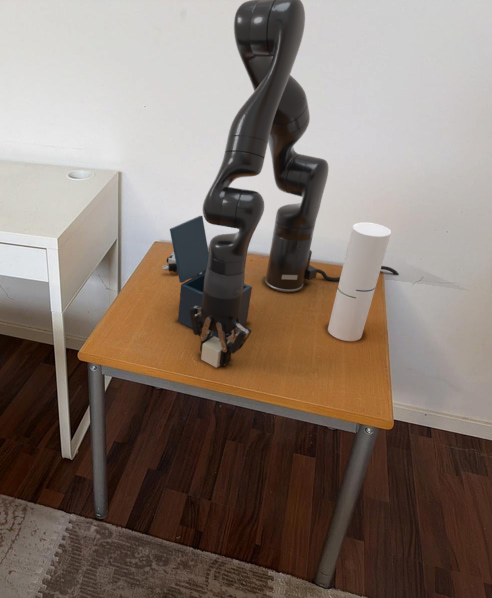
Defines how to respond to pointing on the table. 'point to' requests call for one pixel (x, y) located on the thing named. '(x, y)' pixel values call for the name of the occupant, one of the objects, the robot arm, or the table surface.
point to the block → (212, 351)
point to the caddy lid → (190, 248)
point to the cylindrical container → (358, 280)
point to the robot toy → (173, 264)
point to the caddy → (193, 296)
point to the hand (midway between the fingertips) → (214, 358)
